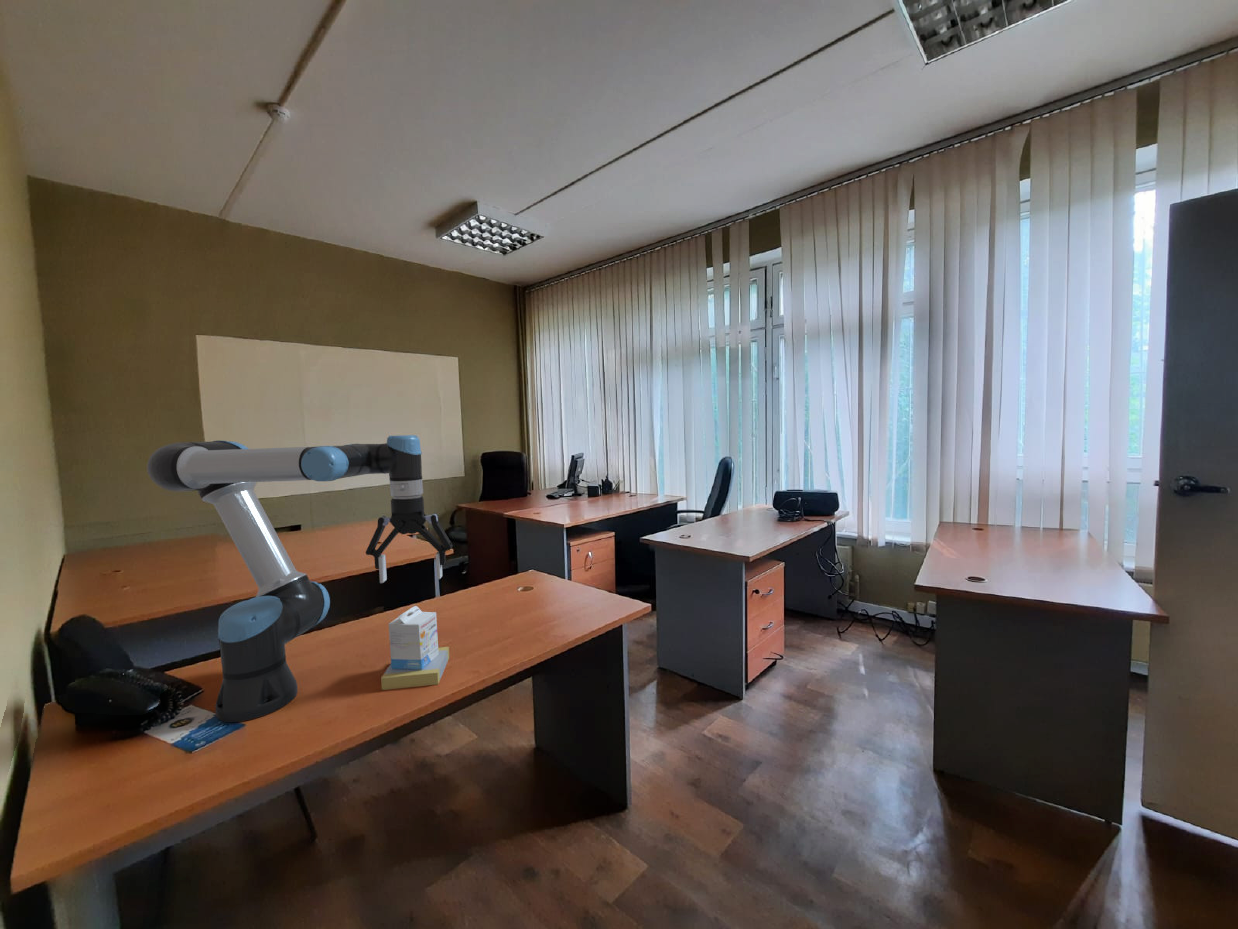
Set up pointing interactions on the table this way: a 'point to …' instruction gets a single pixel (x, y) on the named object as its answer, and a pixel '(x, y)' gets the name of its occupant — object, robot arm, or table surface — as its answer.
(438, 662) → the dock
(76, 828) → the table surface
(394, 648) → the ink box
